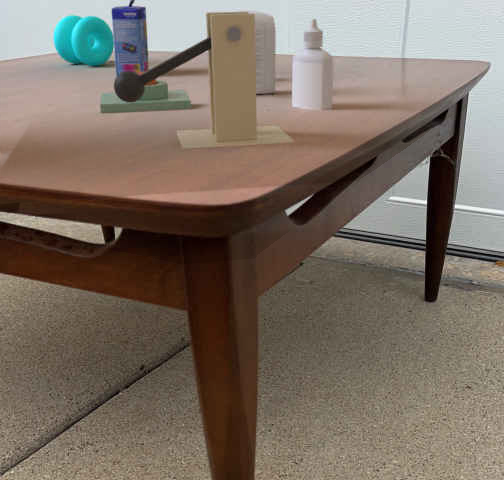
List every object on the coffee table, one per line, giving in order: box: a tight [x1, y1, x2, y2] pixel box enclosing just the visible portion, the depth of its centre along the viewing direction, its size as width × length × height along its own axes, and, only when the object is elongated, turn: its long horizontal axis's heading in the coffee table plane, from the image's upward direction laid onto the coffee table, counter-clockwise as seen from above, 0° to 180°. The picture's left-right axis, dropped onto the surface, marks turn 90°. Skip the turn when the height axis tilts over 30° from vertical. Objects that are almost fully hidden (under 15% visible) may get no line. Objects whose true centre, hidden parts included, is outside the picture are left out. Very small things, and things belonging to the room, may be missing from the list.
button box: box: [99, 79, 192, 114], centre depth 96 cm, size 12×10×4 cm
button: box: [136, 71, 157, 85], centre depth 95 cm, size 4×4×2 cm
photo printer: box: [231, 10, 277, 95], centre depth 107 cm, size 10×4×12 cm, turn 105°
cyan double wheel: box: [53, 14, 114, 67], centre depth 149 cm, size 10×10×10 cm
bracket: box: [176, 11, 296, 150], centre depth 74 cm, size 12×9×14 cm
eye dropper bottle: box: [291, 18, 334, 111], centre depth 90 cm, size 4×6×12 cm
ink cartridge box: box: [111, 0, 150, 77], centre depth 132 cm, size 10×6×14 cm, turn 1°
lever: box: [113, 36, 212, 103], centre depth 72 cm, size 15×3×3 cm, turn 100°
